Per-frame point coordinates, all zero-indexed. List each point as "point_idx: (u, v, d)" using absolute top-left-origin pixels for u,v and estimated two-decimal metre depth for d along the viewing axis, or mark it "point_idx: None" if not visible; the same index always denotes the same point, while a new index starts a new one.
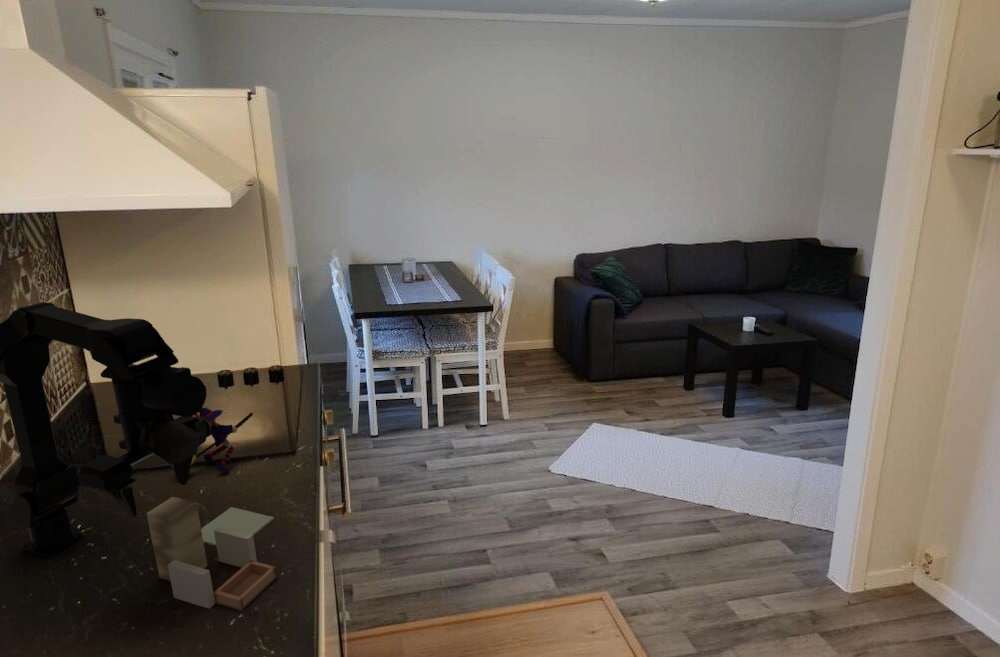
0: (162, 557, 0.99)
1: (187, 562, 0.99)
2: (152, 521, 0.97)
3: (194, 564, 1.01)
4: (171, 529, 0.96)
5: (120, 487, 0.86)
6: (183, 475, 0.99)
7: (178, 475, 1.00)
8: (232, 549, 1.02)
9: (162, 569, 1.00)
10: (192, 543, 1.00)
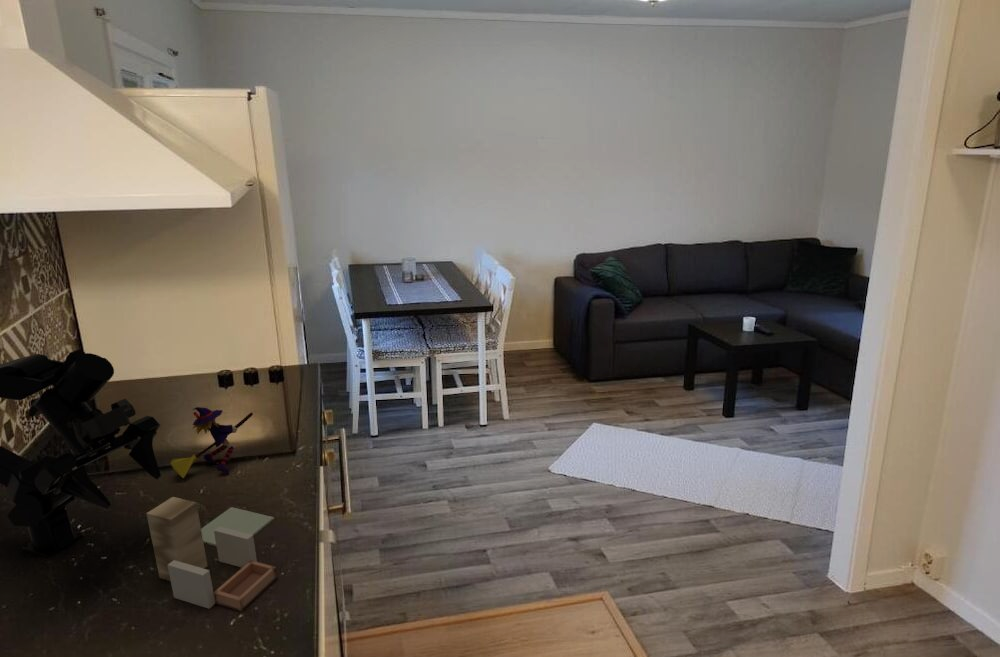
0: (162, 557, 0.99)
1: (187, 562, 0.99)
2: (152, 521, 0.97)
3: (194, 564, 1.01)
4: (171, 529, 0.96)
5: (68, 473, 0.93)
6: (152, 468, 1.05)
7: (150, 472, 1.05)
8: (232, 549, 1.02)
9: (162, 569, 1.00)
10: (192, 543, 1.00)
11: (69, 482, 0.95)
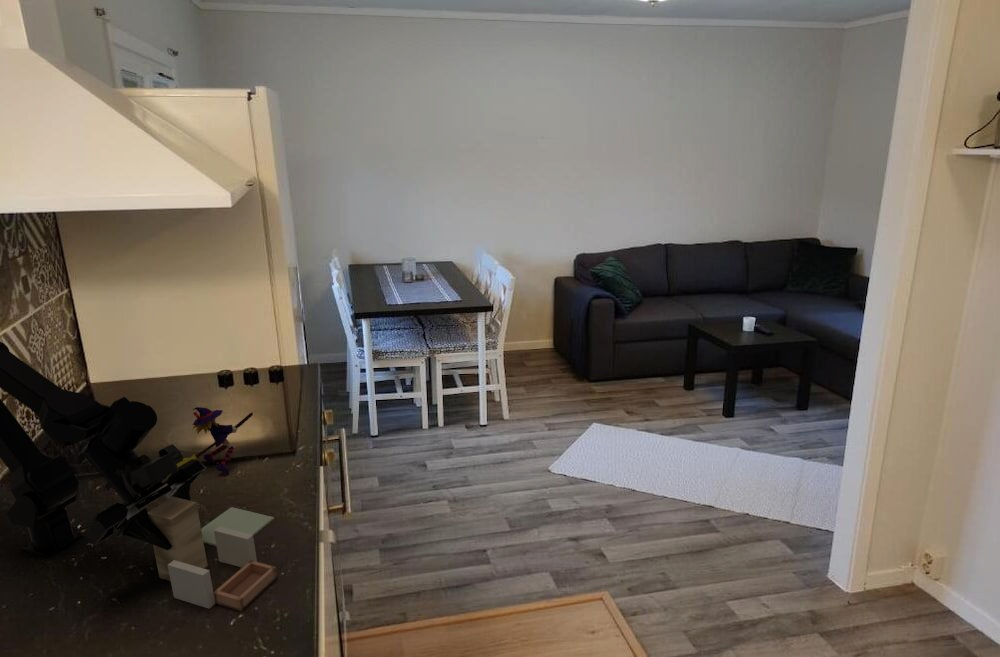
0: (162, 557, 0.99)
1: (187, 562, 0.99)
2: (152, 521, 0.97)
3: (194, 564, 1.01)
4: (171, 529, 0.96)
5: (132, 516, 0.94)
6: None
7: None
8: (232, 549, 1.02)
9: (162, 569, 1.00)
10: (192, 543, 1.00)
11: (131, 525, 0.96)
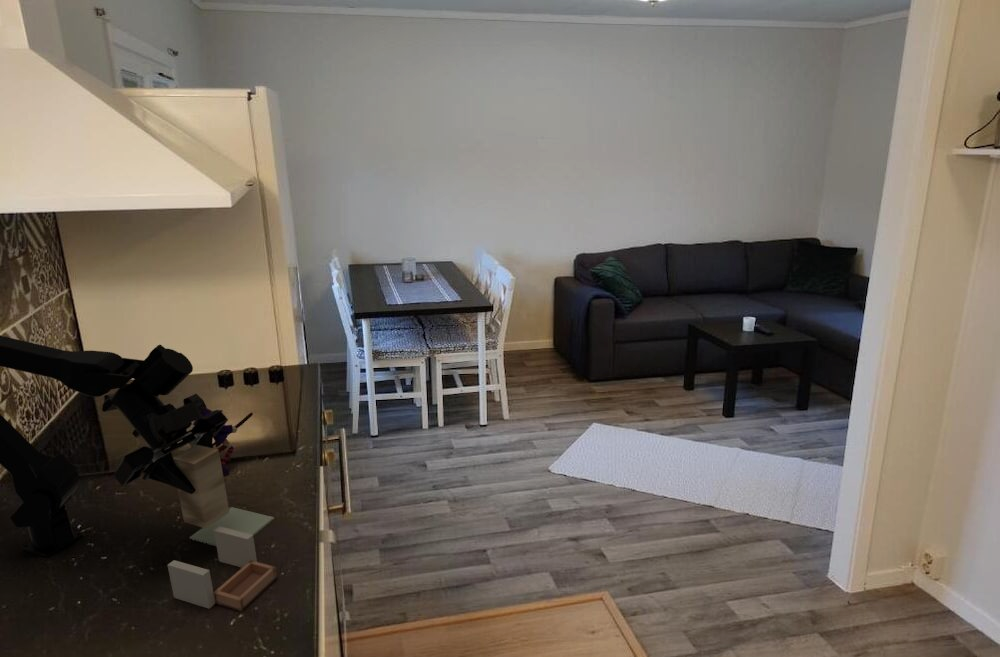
0: (186, 501, 1.03)
1: (210, 507, 1.03)
2: (177, 466, 1.01)
3: (216, 509, 1.05)
4: (194, 473, 1.00)
5: (157, 459, 0.98)
6: None
7: None
8: (232, 549, 1.02)
9: (186, 513, 1.04)
10: (214, 489, 1.04)
11: (157, 468, 1.00)
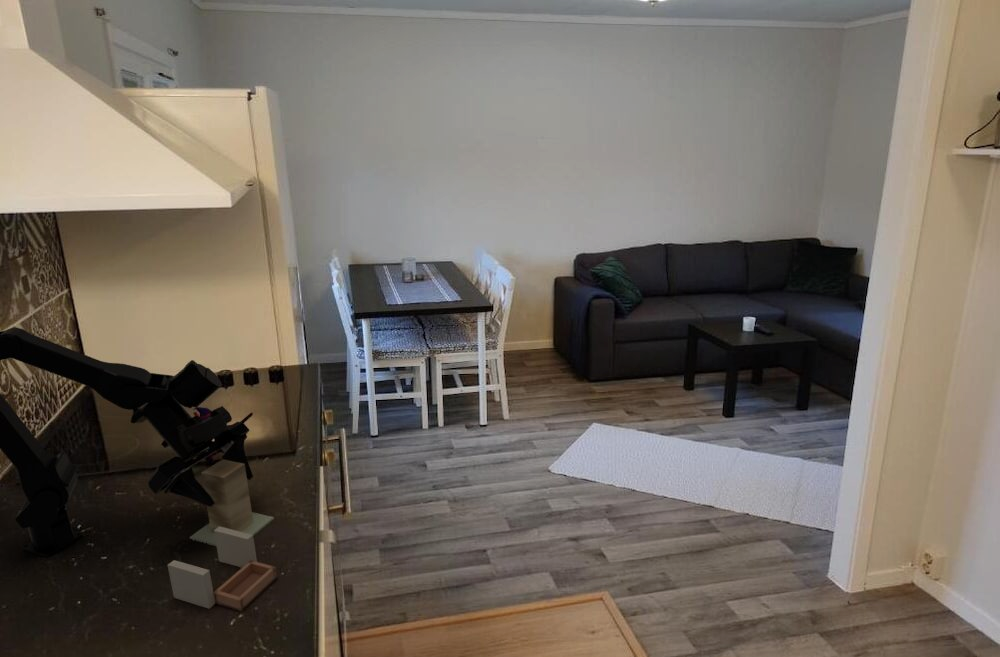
0: (214, 513, 1.10)
1: (236, 517, 1.10)
2: (206, 479, 1.08)
3: (242, 520, 1.12)
4: (224, 486, 1.07)
5: (179, 474, 1.03)
6: (245, 469, 1.14)
7: None
8: (232, 549, 1.02)
9: (214, 524, 1.11)
10: (240, 501, 1.11)
11: (178, 483, 1.05)
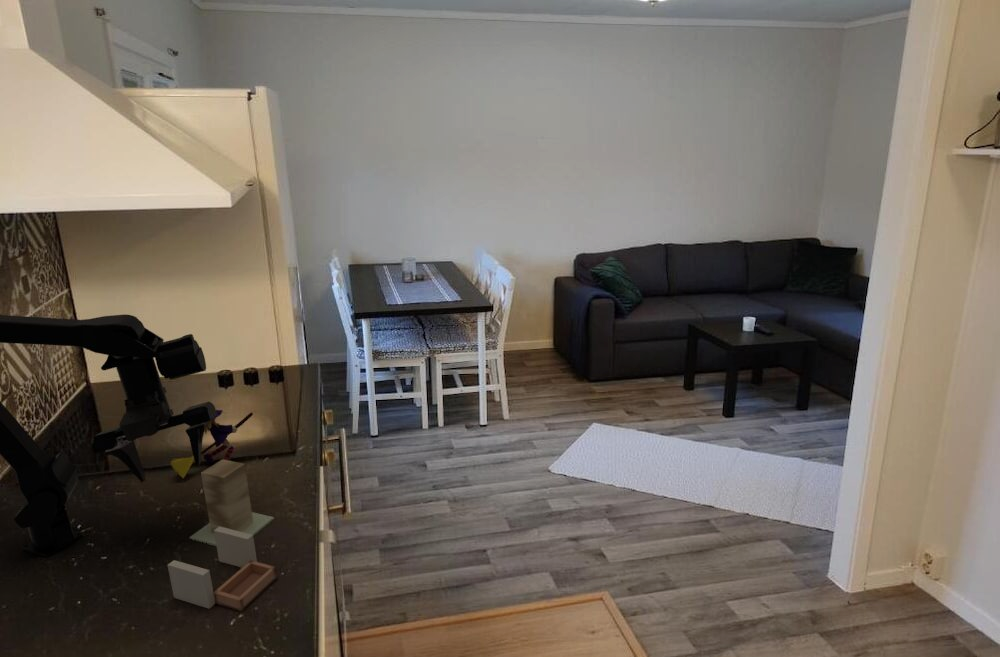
0: (214, 513, 1.10)
1: (236, 517, 1.10)
2: (206, 479, 1.08)
3: (242, 520, 1.12)
4: (224, 486, 1.07)
5: (106, 452, 1.04)
6: None
7: None
8: (232, 549, 1.02)
9: (214, 524, 1.11)
10: (240, 501, 1.11)
11: None
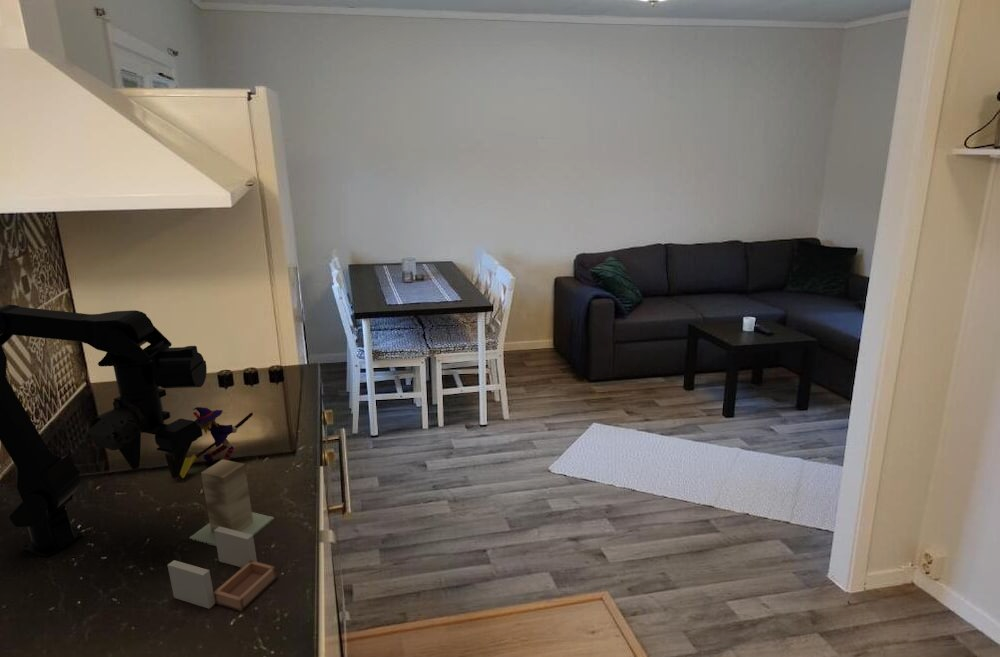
0: (214, 513, 1.10)
1: (236, 517, 1.10)
2: (206, 479, 1.08)
3: (242, 520, 1.12)
4: (224, 486, 1.07)
5: None
6: None
7: None
8: (232, 549, 1.02)
9: (214, 524, 1.11)
10: (240, 501, 1.11)
11: None
